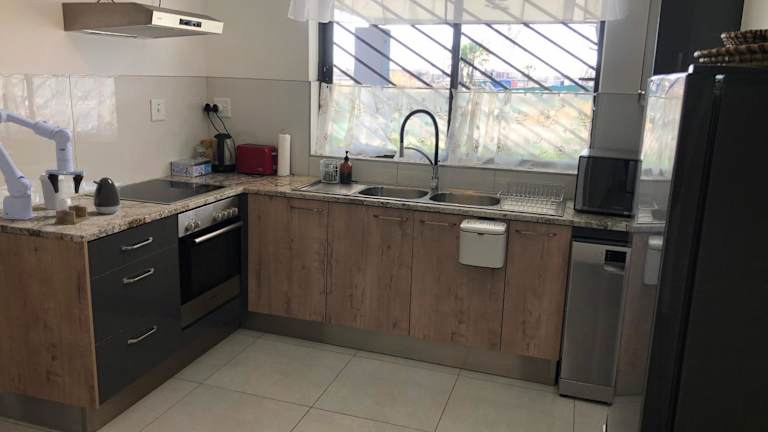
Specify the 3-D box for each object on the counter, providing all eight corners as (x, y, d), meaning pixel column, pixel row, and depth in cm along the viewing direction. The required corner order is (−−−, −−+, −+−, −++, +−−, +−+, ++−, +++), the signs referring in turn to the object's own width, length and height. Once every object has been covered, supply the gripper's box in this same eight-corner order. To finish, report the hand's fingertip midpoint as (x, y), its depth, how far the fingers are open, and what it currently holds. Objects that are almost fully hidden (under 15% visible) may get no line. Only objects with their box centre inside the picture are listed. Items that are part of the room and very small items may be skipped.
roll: (55, 217, 243) (54, 200, 241) (62, 214, 248) (61, 197, 246) (68, 217, 243) (66, 200, 241) (74, 215, 248) (73, 198, 246)
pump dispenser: (88, 213, 252) (86, 177, 249) (111, 209, 261) (109, 174, 258) (102, 216, 247) (100, 180, 244) (125, 212, 255) (123, 177, 252)
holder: (54, 223, 233) (53, 209, 231) (70, 217, 243) (69, 203, 242) (75, 224, 232) (74, 210, 231) (89, 218, 243) (88, 204, 242)
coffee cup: (71, 208, 260) (68, 173, 257) (49, 211, 252) (46, 176, 249) (58, 205, 265) (55, 171, 261) (36, 208, 256) (33, 173, 253)
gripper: (40, 160, 235) (43, 194, 237) (79, 161, 236) (81, 195, 239) (48, 157, 241) (51, 191, 244) (86, 159, 243) (88, 192, 246)
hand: (66, 193), depth 242 cm, fingers open, 7 cm apart
